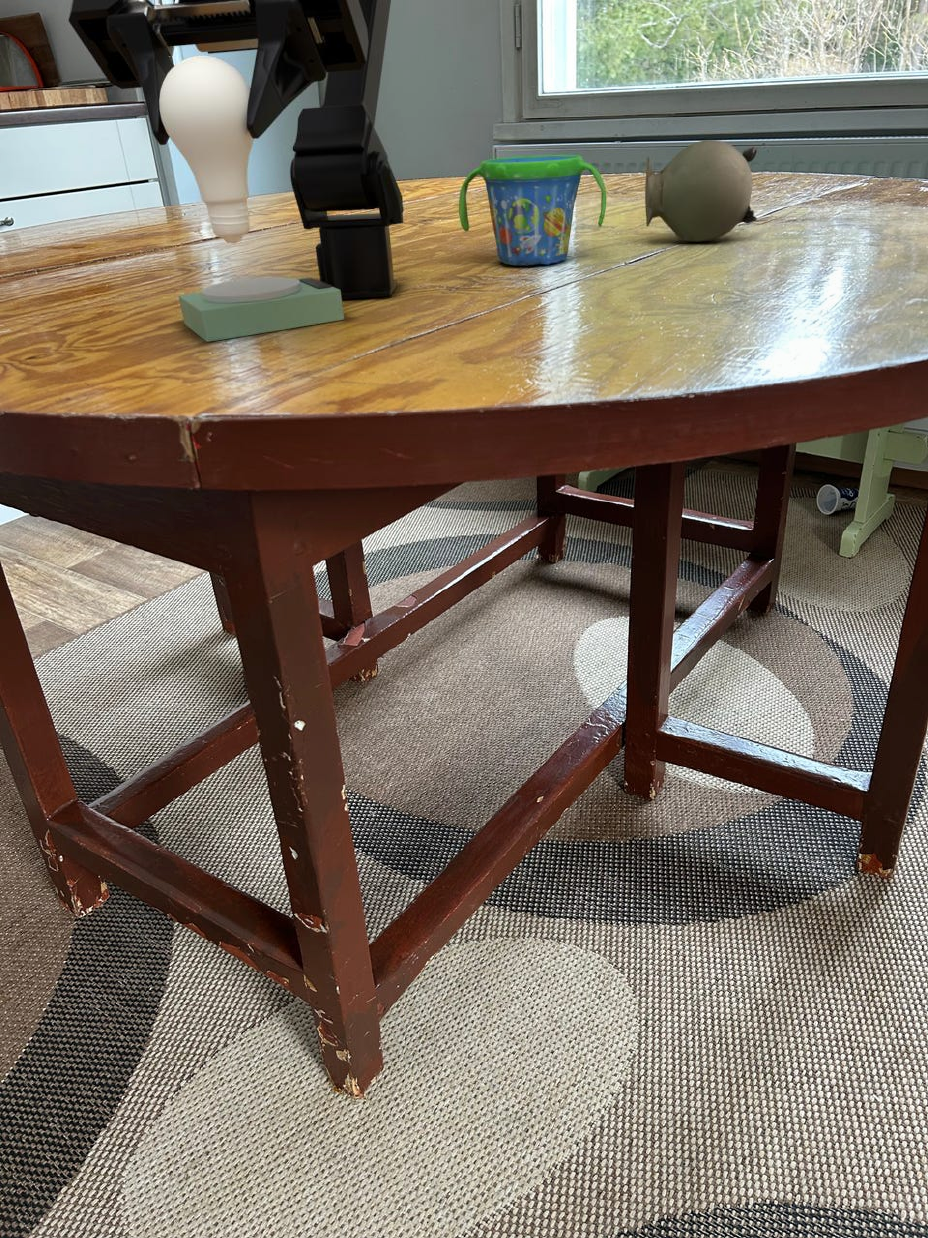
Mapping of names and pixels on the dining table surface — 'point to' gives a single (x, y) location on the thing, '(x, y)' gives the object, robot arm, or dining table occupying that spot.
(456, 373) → the dining table surface
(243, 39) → the robot arm
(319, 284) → the scale
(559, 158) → the snack cup
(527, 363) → the dining table surface
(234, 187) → the lightbulb
